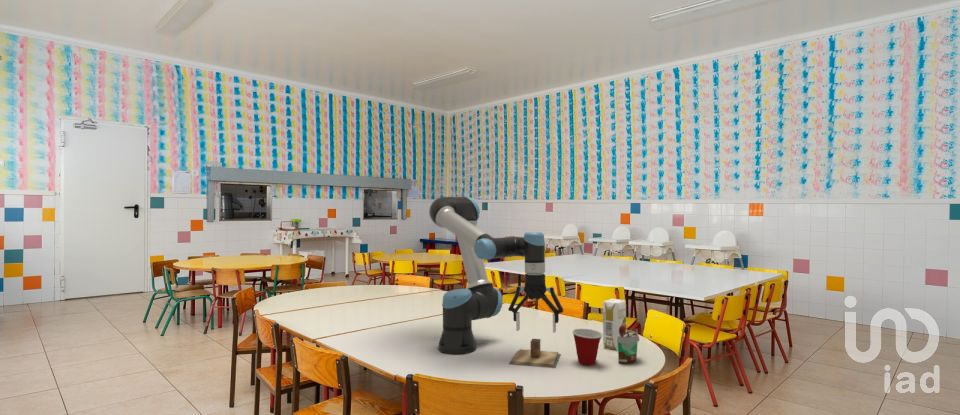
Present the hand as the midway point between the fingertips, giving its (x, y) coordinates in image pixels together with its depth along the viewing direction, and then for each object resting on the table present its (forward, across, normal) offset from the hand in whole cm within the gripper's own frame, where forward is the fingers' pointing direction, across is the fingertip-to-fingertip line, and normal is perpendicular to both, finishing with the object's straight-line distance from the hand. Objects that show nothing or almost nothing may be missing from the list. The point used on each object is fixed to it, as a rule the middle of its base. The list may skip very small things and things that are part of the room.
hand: (536, 330), depth 187 cm
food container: (+12, +34, +8) cm, 36 cm away
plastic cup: (+12, +18, 0) cm, 22 cm away
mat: (+11, 0, 0) cm, 11 cm away
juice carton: (+12, +28, +25) cm, 39 cm away
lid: (+10, 0, 0) cm, 11 cm away
